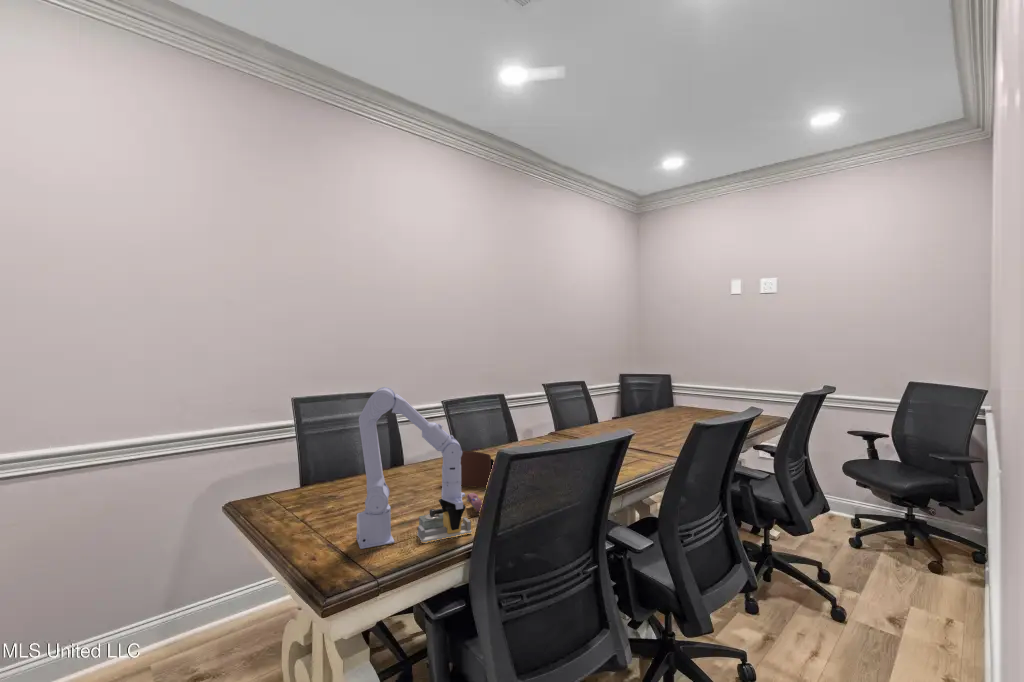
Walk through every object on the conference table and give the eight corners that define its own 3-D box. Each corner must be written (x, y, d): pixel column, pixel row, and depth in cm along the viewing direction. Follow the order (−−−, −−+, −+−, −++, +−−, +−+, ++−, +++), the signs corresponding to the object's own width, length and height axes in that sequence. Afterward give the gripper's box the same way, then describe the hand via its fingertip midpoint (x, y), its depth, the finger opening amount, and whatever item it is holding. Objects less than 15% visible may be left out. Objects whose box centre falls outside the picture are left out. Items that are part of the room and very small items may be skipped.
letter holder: (490, 488, 184) (490, 452, 184) (443, 485, 189) (443, 450, 189) (498, 481, 194) (497, 447, 194) (453, 478, 199) (452, 444, 199)
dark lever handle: (430, 516, 145) (430, 511, 145) (429, 514, 147) (428, 509, 147) (445, 513, 147) (445, 508, 147) (444, 512, 149) (444, 507, 149)
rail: (422, 544, 134) (422, 532, 134) (417, 536, 139) (417, 524, 139) (471, 534, 140) (471, 522, 140) (465, 527, 146) (465, 516, 146)
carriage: (448, 534, 138) (448, 517, 138) (443, 528, 142) (443, 512, 142) (461, 531, 139) (461, 515, 139) (455, 525, 144) (455, 510, 144)
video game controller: (471, 510, 165) (462, 493, 163) (482, 503, 166) (473, 486, 165) (479, 520, 155) (470, 502, 154) (491, 512, 157) (482, 494, 156)
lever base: (423, 531, 142) (423, 520, 142) (419, 525, 147) (419, 515, 147) (448, 526, 146) (448, 516, 146) (443, 521, 150) (443, 511, 150)
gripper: (472, 485, 136) (473, 532, 136) (456, 472, 149) (456, 515, 149) (449, 488, 133) (449, 536, 133) (434, 475, 146) (435, 519, 146)
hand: (452, 525), depth 141 cm, fingers closed on carriage, 5 cm apart
